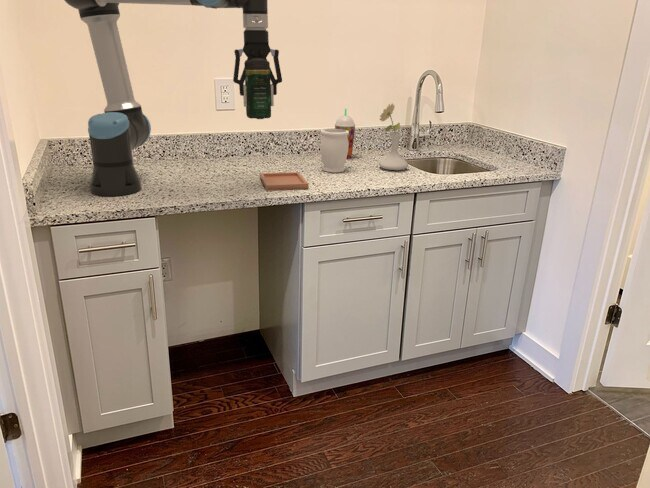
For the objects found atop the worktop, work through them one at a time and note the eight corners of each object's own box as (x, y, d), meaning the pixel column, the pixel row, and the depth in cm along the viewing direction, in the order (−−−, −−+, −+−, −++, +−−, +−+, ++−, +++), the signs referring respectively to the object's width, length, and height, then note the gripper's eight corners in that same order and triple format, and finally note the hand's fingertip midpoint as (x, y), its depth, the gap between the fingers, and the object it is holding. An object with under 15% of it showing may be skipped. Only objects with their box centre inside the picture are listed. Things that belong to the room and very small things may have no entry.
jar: (314, 169, 202) (314, 130, 197) (332, 165, 209) (333, 127, 204) (334, 175, 196) (336, 134, 190) (352, 170, 203) (354, 131, 197)
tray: (266, 190, 174) (266, 185, 174) (260, 178, 189) (259, 173, 188) (308, 189, 177) (308, 183, 177) (298, 176, 192) (298, 172, 191)
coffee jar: (273, 119, 169) (271, 57, 162) (248, 120, 167) (245, 57, 161) (269, 115, 178) (267, 56, 171) (245, 115, 176) (242, 56, 169)
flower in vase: (394, 164, 215) (399, 100, 206) (413, 170, 206) (419, 104, 197) (369, 167, 208) (372, 102, 199) (387, 174, 199) (392, 105, 190)
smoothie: (332, 155, 227) (334, 107, 220) (352, 155, 228) (354, 107, 221) (335, 159, 219) (336, 110, 212) (355, 159, 220) (357, 110, 213)
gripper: (222, 29, 157) (226, 108, 166) (291, 29, 162) (292, 106, 170) (220, 29, 164) (225, 105, 172) (287, 29, 169) (288, 103, 177)
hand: (258, 105), depth 171 cm, fingers closed on coffee jar, 8 cm apart
